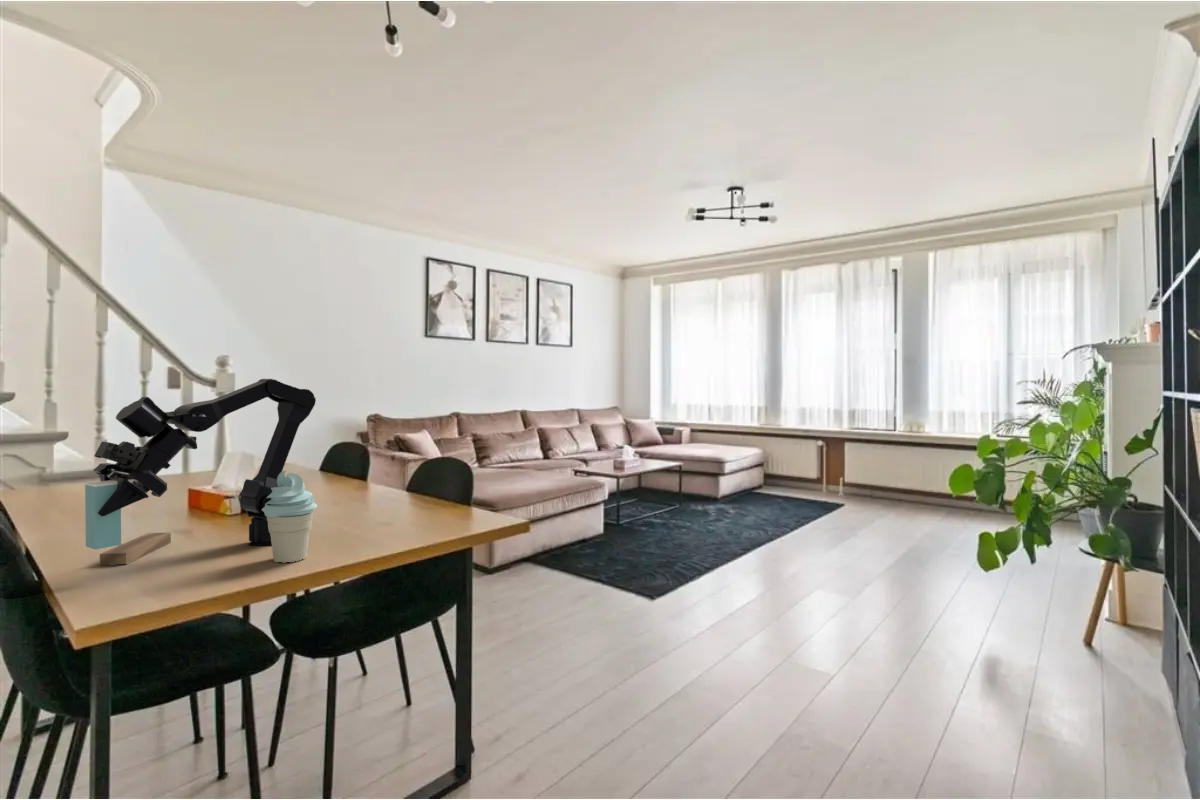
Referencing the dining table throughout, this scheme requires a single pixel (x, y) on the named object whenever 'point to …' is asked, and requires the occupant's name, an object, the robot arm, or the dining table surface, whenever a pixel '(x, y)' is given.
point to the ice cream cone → (289, 518)
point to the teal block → (101, 527)
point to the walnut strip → (135, 548)
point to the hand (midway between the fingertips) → (94, 513)
